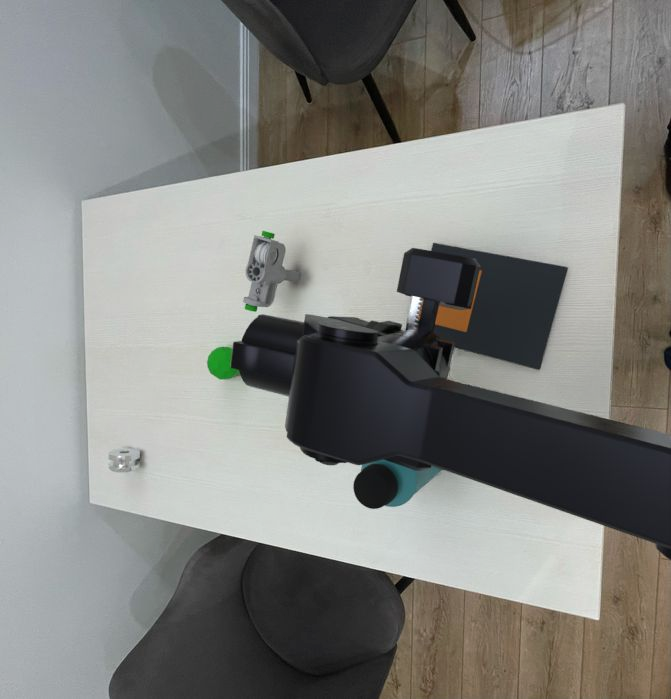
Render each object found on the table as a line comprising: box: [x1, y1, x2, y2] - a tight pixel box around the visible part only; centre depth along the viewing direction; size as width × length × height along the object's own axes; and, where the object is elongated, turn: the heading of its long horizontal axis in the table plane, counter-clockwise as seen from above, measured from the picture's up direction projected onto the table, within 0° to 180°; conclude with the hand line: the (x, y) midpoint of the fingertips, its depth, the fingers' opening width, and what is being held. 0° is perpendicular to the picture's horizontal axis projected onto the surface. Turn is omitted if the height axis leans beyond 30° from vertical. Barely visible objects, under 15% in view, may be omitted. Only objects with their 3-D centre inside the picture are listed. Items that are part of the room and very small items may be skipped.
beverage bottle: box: [352, 460, 444, 510], centre depth 60 cm, size 6×7×20 cm
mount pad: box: [415, 242, 569, 370], centre depth 65 cm, size 17×12×1 cm
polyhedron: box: [206, 346, 239, 380], centre depth 81 cm, size 5×5×5 cm
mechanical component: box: [242, 230, 302, 313], centre depth 73 cm, size 3×10×10 cm, turn 163°
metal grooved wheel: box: [108, 447, 141, 474], centre depth 92 cm, size 5×3×5 cm, turn 87°
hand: (444, 350), depth 54 cm, fingers open, 9 cm apart
